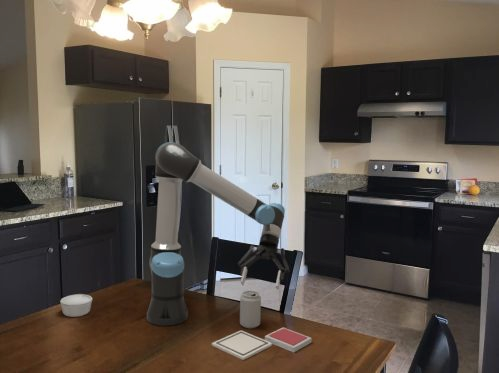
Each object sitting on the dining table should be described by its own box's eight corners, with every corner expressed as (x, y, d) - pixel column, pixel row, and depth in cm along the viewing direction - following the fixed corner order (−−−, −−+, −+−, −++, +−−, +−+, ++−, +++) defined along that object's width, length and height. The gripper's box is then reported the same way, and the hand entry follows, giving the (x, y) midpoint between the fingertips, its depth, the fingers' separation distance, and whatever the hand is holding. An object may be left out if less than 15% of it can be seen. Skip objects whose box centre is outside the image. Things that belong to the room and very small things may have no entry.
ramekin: (98, 311, 176) (98, 298, 175) (73, 320, 166) (73, 306, 166) (79, 304, 182) (79, 292, 181) (54, 313, 172) (54, 300, 172)
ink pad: (264, 340, 154) (264, 335, 154) (282, 331, 162) (283, 326, 162) (293, 352, 147) (293, 346, 146) (311, 342, 154) (311, 337, 154)
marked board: (211, 345, 150) (211, 342, 150) (240, 332, 160) (240, 330, 160) (243, 360, 141) (243, 357, 141) (272, 345, 151) (272, 342, 151)
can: (258, 330, 162) (259, 297, 161) (237, 328, 164) (238, 295, 163) (261, 322, 170) (262, 290, 168) (242, 319, 171) (242, 288, 170)
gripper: (301, 245, 185) (293, 294, 173) (242, 240, 192) (230, 286, 179) (299, 235, 179) (290, 284, 167) (238, 230, 186) (225, 277, 174)
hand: (259, 285), depth 173 cm, fingers open, 13 cm apart
